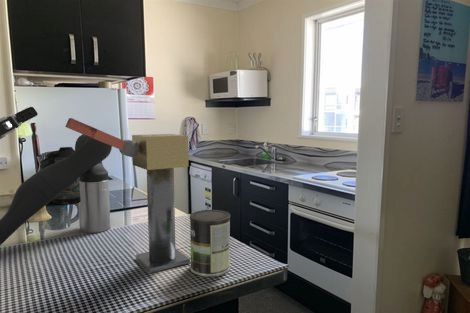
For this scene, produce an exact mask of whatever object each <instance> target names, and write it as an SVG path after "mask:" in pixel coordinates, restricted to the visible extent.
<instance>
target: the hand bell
mask: <svg viewBox="0 0 470 313" xmlns="http://www.w3.org/2000/svg"><path fill="white" fill-rule="evenodd" d="M51 219H52V215H50V214H49V213H48V211H47V206H46V205H45V206H44V207H43V208H41V209H40V210H39V211H38V212H36V213H35V214H34V215H33V216H32V217H30V218H29V219H28V220H27V221H26V222H28V223H39V222H40V223H41V222H45V221H46V222H47V221H49V220H51Z"/></svg>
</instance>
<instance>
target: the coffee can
mask: <svg viewBox="0 0 470 313" xmlns="http://www.w3.org/2000/svg"><path fill="white" fill-rule="evenodd" d="M230 219H231V214H230V213H229V212H228V211H224V210H221V209H202V210H197V211H194V212H192V213H190V214H189V220H190V221H189V226H190V227H189V228H190V232H189V234H190V238H189V239H190V268H189V270H190V271H191V272H192V273H193V274H194V275H197V276H200V277H208V278H211V277H218V276H221V275H222V276H223V275H224V274H226V273H228V272H229V271H230V270H231V269H230V268H231V265H230V262H231V261H230V260H231V258H230V255H231V254H230V253H231V251H230V250H231V248H230V245H231V244H230V242H231V238H230V237H231V235H230V234H231V232H230V231H231V230H230V228H231V220H230Z"/></svg>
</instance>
